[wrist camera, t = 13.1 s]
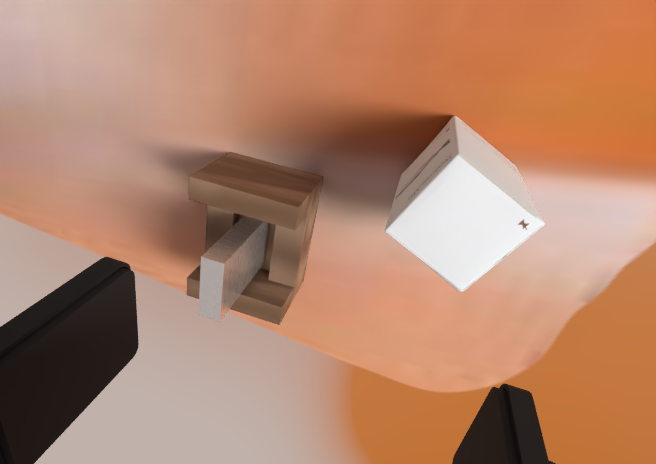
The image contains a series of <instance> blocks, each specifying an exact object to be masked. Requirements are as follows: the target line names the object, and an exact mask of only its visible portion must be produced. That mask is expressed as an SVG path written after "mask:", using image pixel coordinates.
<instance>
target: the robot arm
mask: <svg viewBox="0 0 656 464" xmlns="http://www.w3.org/2000/svg"><path fill="white" fill-rule="evenodd" d="M137 349H138V328H137V310H136V292H135V275H134V272H133V271H131V269H130V266H129V264H127V263H125V262H122V261H118V260H115V259H112V258H109V257H104V258H102V259H100V260H99V261H97V262H96V263H94V264H93V265H91V266H90V267H88V268H87V269H85V270H84V271H82V272H81V273H79V274H78V275H76V276H75V277H74V278H72V279H71V280H69V281H68V282H66V283H65V284H63V285H62V286H60V287H59V288H58V289H56V290H54V291H53V292H52V293H50V294H48V295H47V296H45V297H44V298H43V299H41V300H40V301H38V302H37V303H35V304H34V305H32V306H31V307H29V308H28V309H26V310H25V311H23V312H22V313H20V314H19V315H18V316H16V317H14V318H13V319H12V320H10V321H9V322H7V323H6V324H4V325H3V326H1V327H0V464H34V463H35V462H36V461H37V460H38V458H40V457H41V455H42V454H43V453H44V452H45V451H46V450H47V449H48V448H49V447H50V446H51V445H52V444H53V443H54V442H55V440H56V439H57V438H58V437H59V436H60V435H61V434H62V433H63V432H64V431H65V430H66V429H67V428H68V427H69V426H70V424H71V423H72V422H73V421H74V420H75V419H76V418H77V417H78V416H79V415H80V414H81V413H82V412H83V411H84V409H85V408H86V407H87V406H88V405H89V404H90V403H91V402H92V401H93V400H94V399H95V398H96V397H97V395H99V393H100V392H101V391H102V390H103V389H104V388H105V387H106V386H107V385H108V384H109V383H110V382H111V381H112V380H113V378H114V377H115V376H116V375H117V374H118V373H119V372H120V371H121V370H122V369H123V368H124V367H125V366H126V364H128V362H129V361H130V360H131V359H132V358H133V357H134V355H135V354H136V352H137ZM452 464H555V463H553V462H551V461H549V460H548V457H547V453H546V449H545V445H544V441H543V437H542V433H541V428H540V425H539V420H538V417H537V413H536V408H535V405H534V400H533V397H532V394H531V393H530V392H529V391H526V390H523V389H520V388H517V387H514V386H511V385H508V384H503V385H501V386H500V388H496V387H493V388H492V389H491V390H490V392H489V394H488V396H487V397H486V399H485V401H484V403H483V405H482V406H481V408H480V410H479V412H478V414H477V415H476V417H475V419H474V421H473V423H472V424H471V426H470V428H469V430H468V432H467V433H466V435H465V437H464V439H463V441H462V442H461V444H460V446H459V448H458V450H457V451H456V453H455V455H454V458H453V463H452Z"/></svg>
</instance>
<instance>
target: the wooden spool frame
mask: <svg viewBox="0 0 656 464" xmlns="http://www.w3.org/2000/svg"><path fill="white" fill-rule="evenodd" d="M322 180H323V177H321V176H317V175H314V174H310V173H306V172H302V171H299V170H295V169H291V168H288V167H284V166H280V165H277V164H273V163H269V162H265V161H262V160H258V159H254V158H251V157H247V156H243V155H239V154H236V153H232V152H230V153H229V154H227V155H225V156H224V157H222V158H220V159H218V160H217V161H215V162H213V163H212V164H210V165H208V166H207V167H205V168H203V169H201V170H200V171H198V172H196V173H195V174H193V175H191V176H189V200H192V201H195V202H199V203H202V204H206V205H207V226H206V249H205V252H206V251H207V250H209V249H210V248H211V247H212V246H213V245H214V244H215V243H216V242H217V241H218V240H219V239H220V238H221V237H222V236H223V235H224V234H225V233H226V232H227V231H229V230H230V229H231V228H232V227H233V226H234V225H235V224H236V223H237V222H238V221H239V220H240V219H241V218H242V217H243V216H247V217H251V218H254V219H258V220H261V221H264V222H268V223H269V230H268V238H267V245H266V253H265V260H264V264H263V265H262V267H261V268H260V269H259V271H258V272H257V273H256V274H255V276H254V277H253V278H252V280H251V281H250V282H249V284H248V285H247V286H246V288H245V289H244V290H243V292H242V293H241V294H240V296H239V297H238V298H237V300H236V301H235V302H234V304H233V305H232V306H231V308H230V309H232V310H235V311H238V312H241V313H244V314H247V315H250V316H253V317H256V318H259V319H262V320H266V321H269V322H272V323H275V324H278V325H280V323H281V321H282V319H283V317H284V315H285V314H286V312H287V310H288V308H289V306H290V304H291V303H292V301H293V299H294V297H295V295H296V293H297V292H298V290H299V288H300V286H301V284H302V282H303V280H304V274H305V269H306V264H307V259H308V253H309V248H310V243H311V238H312V232H313V227H314V222H315V217H316V212H317V206H318V201H319V196H320V191H321V185H322ZM200 268H201V265H199V266H198V267H197V268H196V269H195V270H194V271H193V272H192V273H191V274H190V275H189V276H188V277H187V295H188V296H191V297H194V298H197V299H199V292H200Z"/></svg>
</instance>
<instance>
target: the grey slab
mask: <svg viewBox="0 0 656 464" xmlns="http://www.w3.org/2000/svg"><path fill="white" fill-rule="evenodd" d="M268 230H269V223H268V222H264V221H261V220H258V219H254V218H251V217H247V216H243V217H242V218H241V219H240V220H239V221H238V222H237V223H236V224H235V225H234V226H233V227H232V228H231V229H230V230H229V231H227V232H226V233H225V234H224V235H223V236H222V237H221V238H220V239H219V240H218V241H217V242H216V243H215V244H214V245H213V246H212V247H211V248H210V249H209V250H207V251H206V252H205V253H204V254H203V255H202V256H201V268H200V292H199V315H202V316H205V317H208V318H211V319H214V320H217V321H221V319H222V318H223V317H224V316H225V314H226V313H227V312H228V310H229V309H230V308H231V306H232V305H233V304H234V302H235V301H236V300H237V298H238V297H239V296H240V294H241V293H242V292H243V290H244V289H245V288H246V286H247V285H248V284H249V282H250V281H251V280H252V278H253V277H254V276H255V274H256V273H257V272H258V271H259V269H260V268H261V267H262V265H263V264H264V260H265V253H266V245H267V238H268Z"/></svg>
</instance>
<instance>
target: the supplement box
mask: <svg viewBox="0 0 656 464" xmlns="http://www.w3.org/2000/svg"><path fill="white" fill-rule="evenodd" d="M544 225H545V221H544V219H543V218H542V216H541V214H540V212H539V210H538V208H537V206H536V204H535V202H534V200H533V198H532V197H531V195H530V193H529V191H528V189H527V187H526V185H525V183H524V181H523V179H522V177H521V175H520V173H519V171H518V169H517V168H516V166H515V165H514V164H513V163H512V162H510V161H509V160H508V159H507V158H506V157H505V156H503V155H502V154H501V153H500V152H499V151H497V150H496V149H495V148H494V147H493V146H492V145H490V144H489V143H488V142H487V141H486V140H484V139H483V138H482V137H481V136H480V135H478V134H477V133H476V132H475V131H474V130H472V129H471V128H470V127H469V126H468V125H467V124H465V123H464V122H463V121H462V120H460V119H459V118H458V117H457V116H453V117H452V118H451V119H450V121H449V122H448V123H447V124H446V126H445V127H444V128H443V129H442V130H441V132H440V133H439V134H438V135H437V136H436V137H435V138H434V140H433V141H432V142H431V143H430V144H429V145H428V146H427V147H426V149H425V150H424V151H423V152H422V153H421V154H420V155H419V156H418V157H417V158H416V160H415V161H414V162H413V163H412V164H411V165H410V166H409V167H408V168H407V169H406V170H405V171H404V172H403V173H402V174H401V177H400V180H399V183H398V187H397V190H396V194H395V197H394V200H393V204H392V207H391V211H390V215H389V218H388V221H387V225H386V228H385V232H386V233H387V234H389V235H390V236H391V237H392V238H394V239H395V240H396V241H398V242H399V243H400V244H401V245H403V246H404V247H405V248H407V249H408V250H409V251H410V252H412V253H413V254H414V255H415V256H417V257H418V258H419V259H420V260H422V261H423V262H424V263H425V264H427V265H428V266H429V267H430V268H431V269H433V270H434V271H435V272H436V273H437V274H439V275H440V276H441V277H442V278H443V279H445V280H446V281H447V282H448V283H450V284H451V285H452V286H453V287H454V288H456V289H457V290H458V291H460V292H462V291H464V290H466V289H467V288H468V287H469V286H470V285H472V284H473V283H474V282H475V281H476V280H478V279H479V278H480V277H481V276H483V275H484V274H485V273H486V272H488V271H489V270H490V269H491V268H492V267H494V266H495V265H496V264H497V263H499V262H500V261H502V260H503V259H504V258H505V257H506V256H507V255H508V254H510V253H511V252H512V251H513V250H514V249H516V248H517V247H518V246H519V245H520V244H522V243H523V242H524V241H525V240H527V239H528V238H529V237H530V236H532V235H533V234H534V233H535V232H536V231H538V230H539V229H540V228H542V227H543V226H544Z"/></svg>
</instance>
